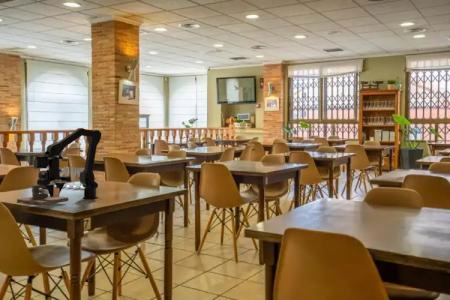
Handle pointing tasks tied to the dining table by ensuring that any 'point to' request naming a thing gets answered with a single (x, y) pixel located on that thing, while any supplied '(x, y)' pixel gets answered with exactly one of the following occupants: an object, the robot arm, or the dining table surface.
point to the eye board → (43, 200)
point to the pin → (44, 191)
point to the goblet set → (72, 173)
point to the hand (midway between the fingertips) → (54, 196)
